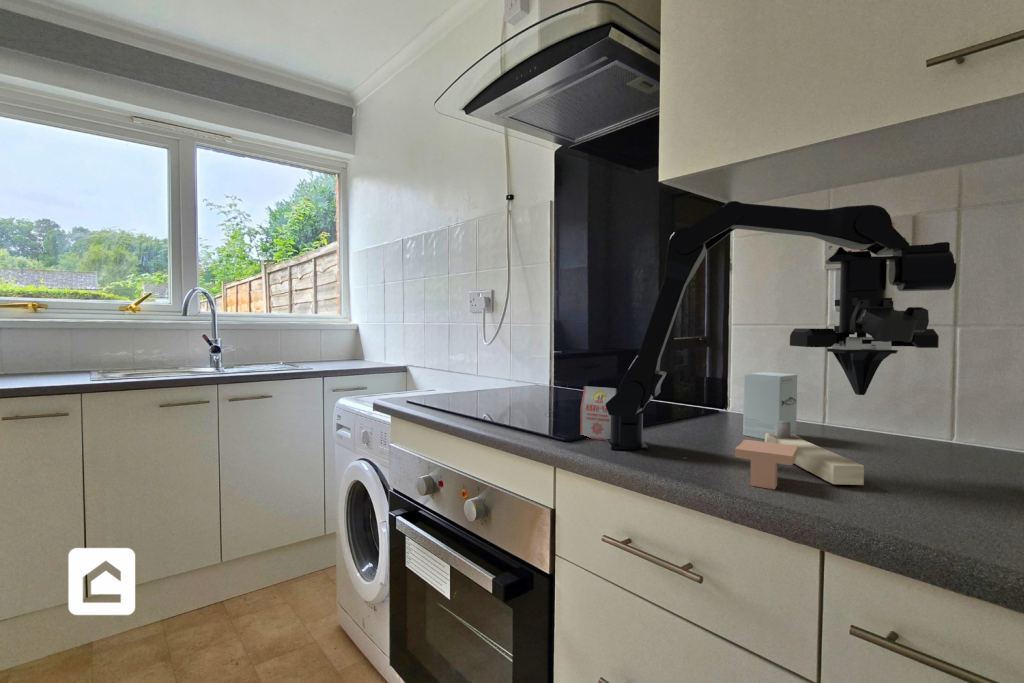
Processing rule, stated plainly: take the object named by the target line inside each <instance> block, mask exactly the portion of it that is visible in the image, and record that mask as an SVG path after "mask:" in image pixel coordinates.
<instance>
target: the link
mask: <svg viewBox="0 0 1024 683" xmlns="http://www.w3.org/2000/svg"><path fill="white" fill-rule="evenodd" d="M764 442H770V443H778V444H786V445H795V446H798V455H797V457H796V459H795V461H794V463H793V464H795V465H796V466H798V467H799V468H801V469H804V470H805V471H807V472H810V473H811V474H813V475H815V476H817V477H819V478H820V479H822V480H824V481H826V482H828V483H830V484H832V485H842V486H843V485H846V486H847V485H850V486H851V485H852V486H855V485H856V486H857V485H858V486H864V485H865V484H864V482H865V465H864V464H863V465H862V464H860V463H858V462H855V461H853V460H851V459H848V458H847V457H845V456H841V455H839V454H837V453H835V452H833V451H831V450H827V449H825V448H823V447H821V446H819V445H816V444H814V443H812V442H808V441H807V440H804V439H803V438H802V437H801V436H798V435H796V436H795V435H790V422H787V421H777V433H765V439H764Z"/></svg>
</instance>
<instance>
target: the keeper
mask: <svg viewBox="0 0 1024 683" xmlns="http://www.w3.org/2000/svg"><path fill="white" fill-rule="evenodd" d="M797 455H798V446H795V445H786V444H778V443H770V442H765V441H759V440H751V439H743V440H742V441H741V443H740V444H739V445H738V446H736V447H735V448H734V458H738V459H745V460H750V473H749V474H750V476H749V477H750V480H749V482H750V484H749V485H750V486H752V487H757V488H764V489H769V490H775V489H776V488H777V486H778V464H780V465H785V466H786V465H787V466H793V464H794V461H795V459H796V457H797Z"/></svg>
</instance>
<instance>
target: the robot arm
mask: <svg viewBox="0 0 1024 683" xmlns="http://www.w3.org/2000/svg"><path fill="white" fill-rule="evenodd" d="M892 220H893V219H892V217H891V214H889V212H888V211H887V210H886V209H885V207H882V206H880V205H876V204H861V205H849V206H842V207H841V206H840V207H836V208H835V207H834V208H829V209H827V208H826V209H825V208H824V209H815V208H802V207H801V208H800V207H791V206H779V205H768V204H758V203H757V204H756V203H745V202H740V201H737V200H733V201H732V200H731V201H729V202H726V203H724V205H723V206H721V207H720V208H719V209H717V210H716V211H713V212H712V213H710V214H709V215H707V216H705V217H703V218H701V219H699V220H698V221H697V222H695V223H693V224H692V225H691V226H689V227H687V226H685V227H681V228H678V229H677V230H675V231H674V232H673V233H672V234H671V235H670V237H669V239H668V242H667V248H666V255H665V256H666V257H665V262H664V263H665V264H664V276H663V280H662V283H661V287H660V289H659V293H658V295H657V298H656V301H655V303H654V307H653V310H652V313H651V316H650V318H649V321H648V324H647V328H646V330H645V334H644V336H643V339H642V342H641V345H640V346H639V350H638V353H637V355H636V356H635V357H634V360H633V361H632V362H631V364H630V366H628V369H627V371H626V372H625V374H624V375H623V378H622V379H621V381H620V383H619V386H618V389H617V394H616V395H614V396H613V397H612V398H611V399H610V400H609V401H608V402H607V403H606V408H607V411H608V414H609V415H611V439H607V441H606V443H607V445H608V447H609V448H610V449H611V450H635V451H636V450H637V451H638V450H639V451H642V450H643V451H644V450H649V449H648V448H649V447H648V445H647V444H646V443H645V441H644V440H643V439H644V438H643V436H644V435H643V434H644V432H643V430H644V426H643V423H644V420H643V419H644V412H642V411H644V409H645V407H646V406H647V404H648V403H649V402H651V400H653V399H654V398H655V397H657V396H658V395H659V394H660V393H661V386H662V383H663V382H664V381H663V380H664V379H665V377H666V375H667V371H663V370H660V369H661V359H662V356H663V354H664V351H665V348H666V344H667V342H668V339H669V337H670V334H671V332H672V331H671V330H672V328H673V325H674V322H675V320H676V317H677V313H678V311H679V308H680V306H681V302H682V300H683V297H684V294H685V291H686V288H687V286H688V284H689V283H690V281H691V280H692V278H693V276H694V275H695V274H696V272H697V271H698V269H699V267H700V265H701V263H702V262H703V260H704V258H705V256H706V254H707V251H708V250H710V249H711V248H713V247H714V246H715V245H716V244H718V243H719V242H721V241H722V240H723V239H724V238H726V237H727V236H728V235H730V234H731V233H732V232H733V231H735V230H744V231H755V232H765V233H774V234H783V235H795V236H803V237H811V238H815V239H819V240H821V241H823V242H827V243H829V244H831V245H835V246H839V247H838V248H837V249H836V250H835V251H834V253H833V254H832V255H831V256H830V257H829V258H827V259H826V260H825V264H826V265H840V269H839V270H840V278H839V299H834V307H839V314H838V315H839V319H838V321H839V322H838V324H839V325H833V326H834V327H833V328H794V329H793V330H792V332H791V333H790V335H789V346H791V347H800V348H801V347H804V348H826V352H829V353H832V354H833V355H834V357H835V359H836V360H837V362H838V363H839V365H840V366H841V368H842V370H843V372H844V373H845V376H846V377H847V378H846V379H847V381H848V382H849V384H850V386H851V389H853V393H854V394H855V395H857V396H865V395H866V393H867V391H868V389H869V387H870V385H871V383H872V381H873V378H874V376H875V374H876V372H877V370H878V369H879V367H880V365H881V364H882V363H883V361H884V360H885V359H887V358H888V357H890V356H891V355H894V354H895V355H896V354H897V353H898V352H899V349H898V350H897V349H892V347H914V348H916V349H917V348H919V349H920V348H921V349H925V348H928V349H938V348H939V346H940V336H939V334H938V333H937V332H936V331H935V330H934V328H928V326H929V322H930V320H929V319H930V318H929V309H926V308H925V307H922V306H921V307H920V306H909V307H907V308H906V309H905V310H897V309H895V308H894V300H893V297H887V277H888V283H889V284H890V285H891V286H894V287H895V286H896V288H897V290H898V291H899V292H918V291H919V292H920V291H921V292H922V291H923V292H924V291H925V292H926V291H949V290H950V289H952V287H953V285H954V284H955V280H956V276H957V262H955V259H954V258H955V257H954V254H953V252H952V251H951V250H950V249H951V244H950V242H948V241H941V242H935V243H930V244H913V245H910V242H908V241H907V240H906V239H905V238H904V236H902V235H901V233H900V232H899V231H898V230H897V229H896V228H895V227H894V226H893V225H892V223H893V221H892ZM844 248H847V249H850V250H854V251H848V250H846V249H844ZM855 250H857V251H855ZM859 250H860V251H859ZM872 254H873V255H875V256H872ZM887 263H888V264H887ZM887 266H888V268H887ZM887 269H888V272H887ZM887 273H888V275H887ZM855 334H856V336H855ZM850 335H852V336H850ZM853 335H854V336H853ZM867 335H869V336H867Z"/></svg>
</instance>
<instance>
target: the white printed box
mask: <svg viewBox="0 0 1024 683" xmlns="http://www.w3.org/2000/svg"><path fill="white" fill-rule="evenodd" d="M617 393H618V389H617V387H616V388H615V387H599V386H589V385H588V386H587V385H585V386H583V391H582V398H581V403H580V407H579V408H580V409H579V410H580V411H579V414H580V416H579V417H580V418H579V419H580V424H579V425H580V426H579V427H580V428H579V432H580V433H579V434H580V435H584V436H587V437H589V438H591V439H590V440H597V441H605V442H607V439H611V415H609V414H608V411H607V408H606V403H607V402H608V401H609V400H610V399H611V398H612V397H613V396H614V395H616V394H617ZM589 438H588V439H589Z"/></svg>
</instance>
